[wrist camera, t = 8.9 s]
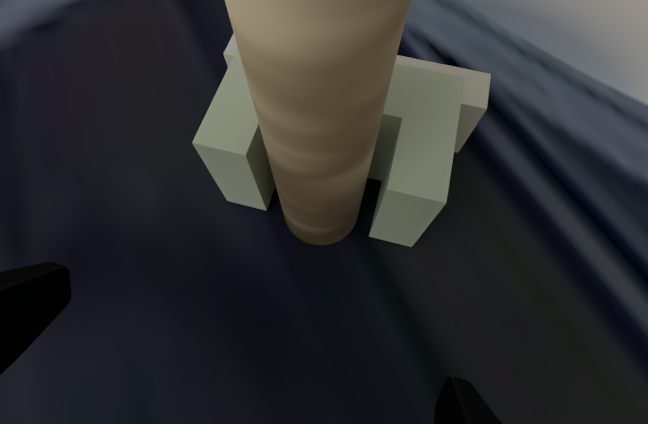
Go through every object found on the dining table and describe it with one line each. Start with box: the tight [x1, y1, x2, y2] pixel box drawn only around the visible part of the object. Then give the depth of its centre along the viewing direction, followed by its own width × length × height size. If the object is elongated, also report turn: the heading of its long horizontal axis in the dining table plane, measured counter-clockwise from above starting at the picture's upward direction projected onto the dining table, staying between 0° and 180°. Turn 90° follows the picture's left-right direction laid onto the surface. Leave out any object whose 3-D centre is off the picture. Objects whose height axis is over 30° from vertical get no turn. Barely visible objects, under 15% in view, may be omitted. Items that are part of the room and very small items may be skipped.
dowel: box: [225, 0, 410, 245], centre depth 11 cm, size 4×4×13 cm
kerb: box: [224, 34, 491, 153], centre depth 18 cm, size 2×12×4 cm, turn 75°
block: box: [192, 49, 465, 247], centre depth 15 cm, size 6×9×5 cm, turn 75°
